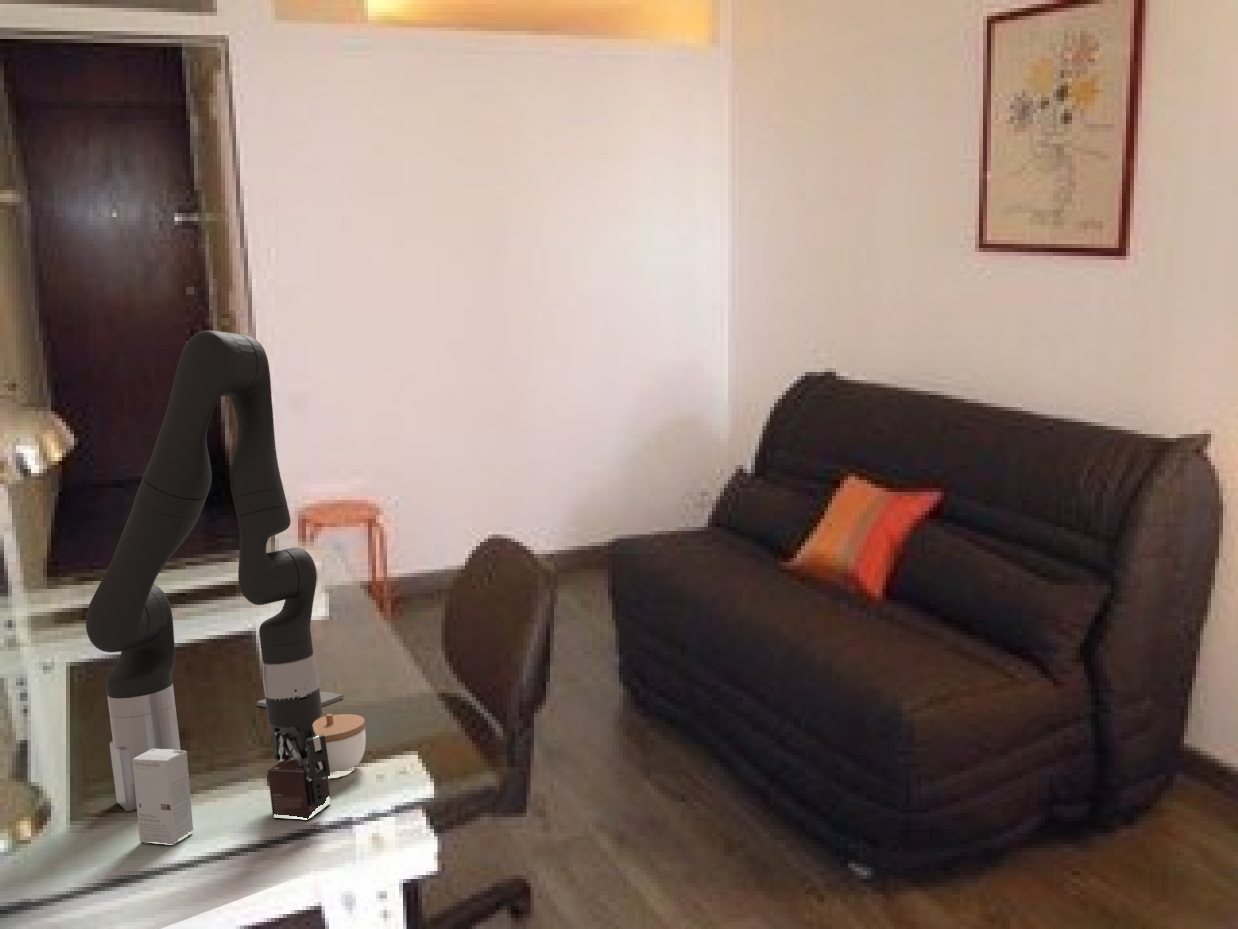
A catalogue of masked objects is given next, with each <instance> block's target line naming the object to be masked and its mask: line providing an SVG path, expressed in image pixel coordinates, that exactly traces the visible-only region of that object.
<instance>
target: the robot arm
mask: <svg viewBox="0 0 1238 929" xmlns="http://www.w3.org/2000/svg"><path fill="white" fill-rule="evenodd" d="M266 352H267V351H266V350H265V348H264V347H263V345H262V344H261V343H260V341H258V339H257V338H254V337H252V336H250V335H246V334H242V333H235V332H234V333H233V332H228V331H227V332H226V331H219V330H202V331H198V332H197V333H195V334H194V335H193V336H191V338H189V339H188V341H187V343H186V344H185V345H184V347H183V349H182V351H181V354H180V357H179V360H178V362H177V367H176V371H175V374H174V378H173V383H172V387H171V392H170V395H169V399H168V400H169V401H168V404H167V408H166V411H165V415H164V418H163V421H162V424H161V427H160V428H159V429H160V430H159V433H158V435H157V439H156V442H155V444H154V448H153V451H152V454H151V456H150V459H149V462H148V464H147V465H146V469H145V471H144V473H143V476H142V478H141V482H140V484H139V486H138V490H137V492H136V495H135V497H134V501H133V503H132V507H131V510H130V513H129V515H128V518H127V519H126V520H127V521H126V524H125V526H124V527H123V531H122V534H121V536H120V538H119V540H118V543H117V546H116V549H115V552H114V554H113V557H111V558H112V559H111V561H110V563H109V565H108V566H107V569H106V571H105V573H104V574H103V577H102V579H101V581H100V582H99V585H98V586H97V588H96V591H95V592H94V594H93V597H92V598H91V601H90V602H89V605H88V608H87V612H86V615H85V629H86V634H87V637H88V639H89V641H90V642H91V644H92V645H93V646H94V647H95V649H98V650H99V651H102V652H105V653H119V652H120V656H119V658H118V660H117V663H116V664H115V666H114V667H113V668H112V670H111V671H110V672H109V673H108V674H107V676H106V679H105V691H106V696H107V697H106V698H107V703H108V711H109V712H108V713H109V722H110V730H111V737H112V741H110V742H109V751H110V759H111V768H112V775H113V782H114V789H115V790H114V791H115V798H116V802H117V804H118V805H119V806H121V807H122V808H123V810H124V811H126V812H127V811H129V812H132V811H135V809H137V805H136V794H135V783H134V771H133V761H132V760H133V759H134V758H135V757H137V756H139V755H141V754H143V753H145V752H147V751H149V750H151V749H173V750H182V749H181V742H180V734H179V726H178V725H179V724H178V718H177V717H178V715H177V709H176V700H175V692H174V690H175V689H174V684H173V683H174V682H173V670H174V669H175V668H174V667H175V664H176V663H175V662H176V646H175V633H174V632H175V630H174V619H173V612H172V607H171V603H170V601H169V599H168V596H167V594H166V593H165V592H164V590H162V588H160V586H158V585H157V584H154V583H155V581H156V579H157V577H158V575H159V573H160V572H161V571H162V569H163V568H164V566H165V565H166V564H167V562H169V560H170V559H171V557H172V556H174V554H175V553H176V551H177V550H178V549H179V548H180V546H181V545H182V544H183V543H184V541H185V540H187V538H188V536H189V535H190V534H191V532H192V531H193V530H194V527H195V526H196V524H197V523H198V520H199V519H200V516H201V514H202V510H203V508H204V505H205V503H206V502H207V498H208V495H209V493H210V492H209V491H210V489H211V485H212V480H213V478H212V466H211V459H210V455H209V450H208V449H209V448H208V442H207V439H208V438H207V436H208V429H209V424H210V421H211V419H212V417H213V413H214V411H215V408H216V406H217V404H218V401H219V400H220V398H221V397H229V398H230V402H231V405H232V407H233V410H234V414H235V417H236V427H237V429H236V430H237V431H236V432H237V433H236V441H235V448H234V453H233V457H232V461H231V466H230V474H229V483H230V485H229V486H230V492H231V496H232V497H231V498H232V500H233V505H234V508H235V513H236V518H237V522H238V526H239V527H238V528H239V554H238V555H239V556H238V570H237V571H238V572H237V573H238V574H237V579H238V580H237V581H238V586H239V589H240V592H241V594H242V595H243V597H244V598H245V599H246V600H247V601H248V602H249V603H250V604H253V605H255V606H261V605H262V606H264V605H269V604H271V603H272V604H273V603H276V602H280V601H284V603H283V605H282V609H281V610H280V611H279V612H278V613H277V614H275V615H273V616H271V617H269V618H268V619H266V620H264V621H263V622H262V623H260V626H259V630H258V633H259V634H258V635H259V642H260V644H259V645H260V652H261V659H262V660H261V661H262V682H263V683H262V684H263V691H264V699H265V700H266V707H265V708H266V714H267V722H268V725H269V726H270V727H271V733H272V734H271V736H272V743H273V744H272V745H273V753H274V759H275V761H276V762H278V761H279V763H280V762H282V761H284V760H286V759H288V758H289V757H291V758H293V757H294V759H295V761H296V764H297V767H298V768H299V769H303V770H304V771H305V778H306V781H307V782H306V784H307V792H308V800H309V805H310V806H311V807H317V806H320V805H323V804H324V803H325V801H326V799H325V791H324V783H323V778H324V777H328V776H330V769H329V762H328V755H327V748H326V741H325V736H324V735H323V734H322V735H318V736H316V733H315V732H314V729H313V726H312V725H313V723H314V722H315V721H316V720H318V719H319V718H321V717H323V707H322V704H321V696H320V691H321V688H320V682H319V681H320V680H319V673H318V668H317V663H316V660H315V655H314V648H313V640H312V639H313V638H312V634H311V632H312V631H311V622H312V617H313V616H312V614H313V606H314V599H315V594H316V589H317V579H318V578H317V568H316V563H315V562H314V558H313V557H312V555H311V554H310V553H309V552H308V551H307V550H305V549H303V548H301V547H291V548H286V549H285V548H284V549H282V550H276V551H270V552H267V545H268V541H269V540H270V538H271V537H274V536H276V535H279V534H281V533H283V532H285V531H287V530H288V529H289V528H290V526H291V515H290V511H289V507H288V501H287V498H286V494H285V490H284V485H283V482H282V481H283V480H282V478H281V473H280V467H279V462H278V461H279V460H278V456H277V449H276V438H275V425H274V424H275V422H274V410H273V409H274V408H273V400H272V398H273V396H272V383H271V382H272V381H271V372H270V364H269V360H268V356H267V353H266ZM307 758H308V759H307ZM321 761H322V763H321ZM322 765H323V766H322ZM308 766H309V768H308ZM315 766H316V767H315ZM316 768H317V771H316Z"/></svg>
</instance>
